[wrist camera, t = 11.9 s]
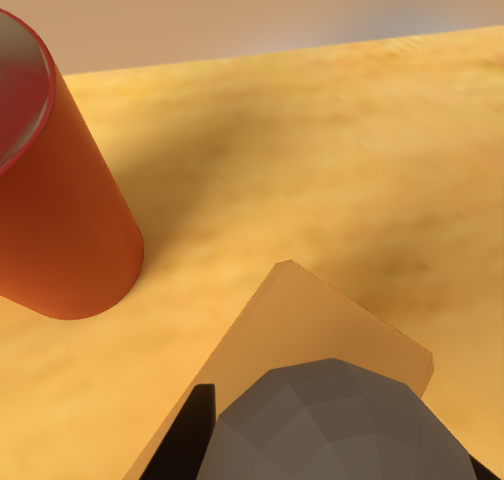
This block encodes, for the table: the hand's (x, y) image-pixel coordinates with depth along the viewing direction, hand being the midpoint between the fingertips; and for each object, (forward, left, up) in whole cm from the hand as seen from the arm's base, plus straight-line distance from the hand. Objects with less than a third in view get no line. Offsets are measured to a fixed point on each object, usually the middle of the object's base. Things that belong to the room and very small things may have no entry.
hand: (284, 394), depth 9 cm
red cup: (0, +11, -11) cm, 16 cm away
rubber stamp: (-1, -1, -7) cm, 7 cm away
